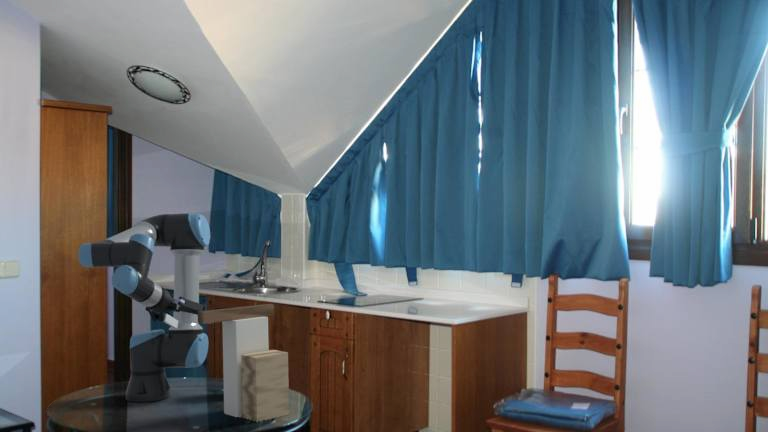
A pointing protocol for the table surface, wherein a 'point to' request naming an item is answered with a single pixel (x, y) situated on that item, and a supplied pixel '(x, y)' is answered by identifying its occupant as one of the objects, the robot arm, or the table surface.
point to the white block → (237, 342)
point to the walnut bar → (235, 313)
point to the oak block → (265, 385)
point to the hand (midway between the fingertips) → (193, 322)
